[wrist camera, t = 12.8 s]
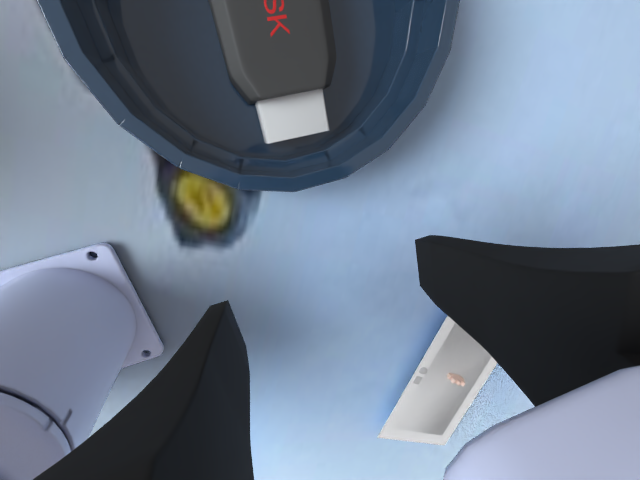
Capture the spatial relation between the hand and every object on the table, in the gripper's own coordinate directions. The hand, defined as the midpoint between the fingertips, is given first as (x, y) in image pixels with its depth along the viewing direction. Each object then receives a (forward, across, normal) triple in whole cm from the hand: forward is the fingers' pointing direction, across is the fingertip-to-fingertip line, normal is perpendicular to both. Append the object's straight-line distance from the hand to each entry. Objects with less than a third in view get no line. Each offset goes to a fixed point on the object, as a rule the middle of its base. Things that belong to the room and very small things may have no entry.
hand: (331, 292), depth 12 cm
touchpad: (+10, -10, +17) cm, 22 cm away
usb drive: (+9, -2, -11) cm, 14 cm away
